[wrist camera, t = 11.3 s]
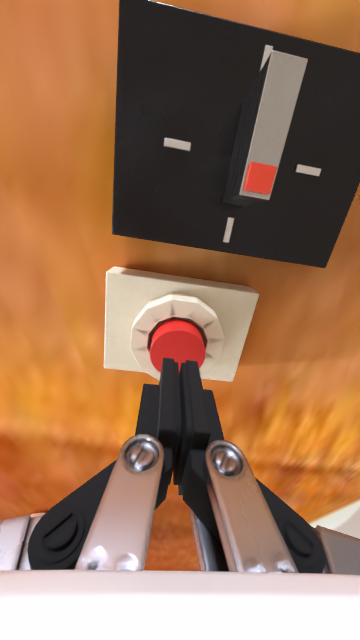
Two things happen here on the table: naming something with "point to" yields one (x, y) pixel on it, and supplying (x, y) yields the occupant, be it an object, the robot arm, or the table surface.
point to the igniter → (174, 303)
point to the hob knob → (264, 129)
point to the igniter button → (177, 343)
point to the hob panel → (228, 136)
